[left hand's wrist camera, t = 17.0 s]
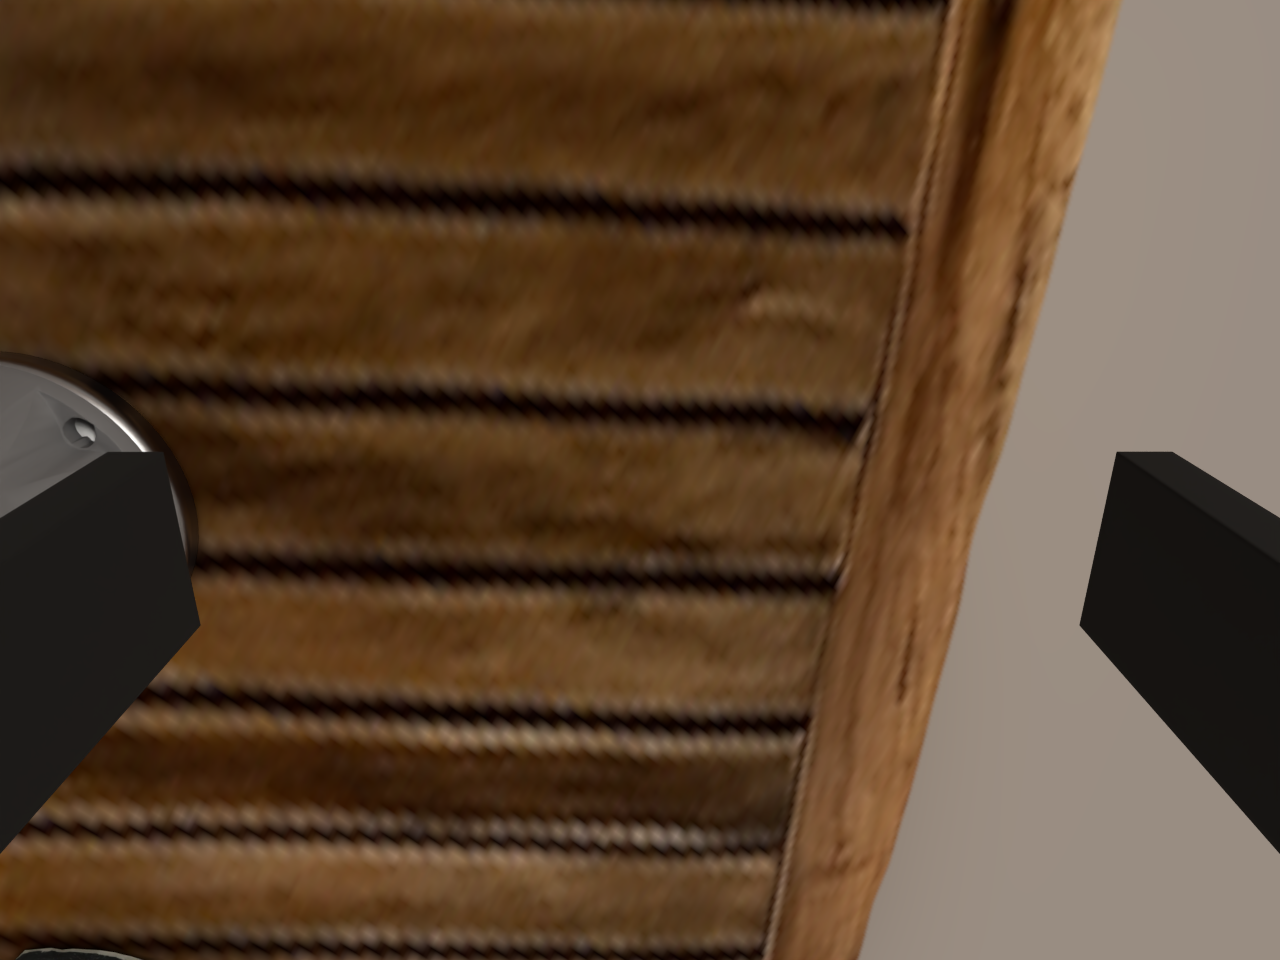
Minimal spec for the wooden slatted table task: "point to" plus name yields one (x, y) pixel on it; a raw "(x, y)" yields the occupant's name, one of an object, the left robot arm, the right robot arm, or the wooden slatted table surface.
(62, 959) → the fossil
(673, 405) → the wooden slatted table surface
